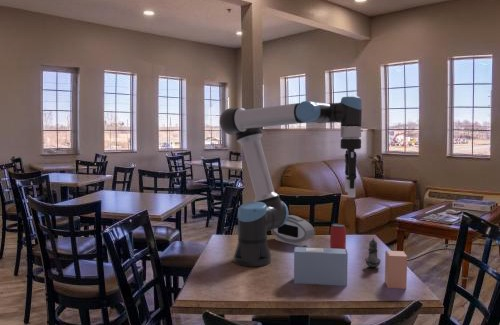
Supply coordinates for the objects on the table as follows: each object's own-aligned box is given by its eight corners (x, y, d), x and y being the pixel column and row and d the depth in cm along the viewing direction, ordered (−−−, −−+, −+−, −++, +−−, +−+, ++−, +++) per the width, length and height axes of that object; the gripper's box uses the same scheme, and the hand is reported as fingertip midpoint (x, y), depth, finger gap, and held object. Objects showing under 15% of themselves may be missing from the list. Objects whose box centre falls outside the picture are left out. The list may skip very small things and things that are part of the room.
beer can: (336, 255, 179) (336, 227, 178) (327, 251, 185) (327, 224, 184) (348, 253, 181) (349, 225, 181) (339, 249, 187) (339, 222, 187)
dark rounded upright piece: (364, 270, 159) (364, 239, 158) (365, 265, 164) (365, 235, 163) (380, 272, 157) (380, 240, 156) (381, 267, 162) (381, 237, 161)
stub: (387, 287, 141) (388, 255, 140) (384, 281, 146) (385, 250, 146) (406, 288, 140) (407, 256, 139) (402, 282, 146) (403, 250, 145)
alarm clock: (269, 239, 206) (269, 213, 205) (278, 236, 210) (278, 211, 209) (306, 248, 189) (306, 220, 188) (314, 246, 193) (314, 218, 192)
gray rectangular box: (293, 283, 145) (294, 251, 145) (294, 277, 151) (295, 246, 150) (347, 286, 143) (347, 253, 142) (345, 280, 149) (346, 248, 148)
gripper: (365, 139, 144) (363, 200, 146) (357, 137, 169) (356, 190, 171) (342, 139, 146) (341, 199, 147) (338, 137, 170) (338, 189, 172)
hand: (349, 194), depth 159 cm, fingers open, 13 cm apart
